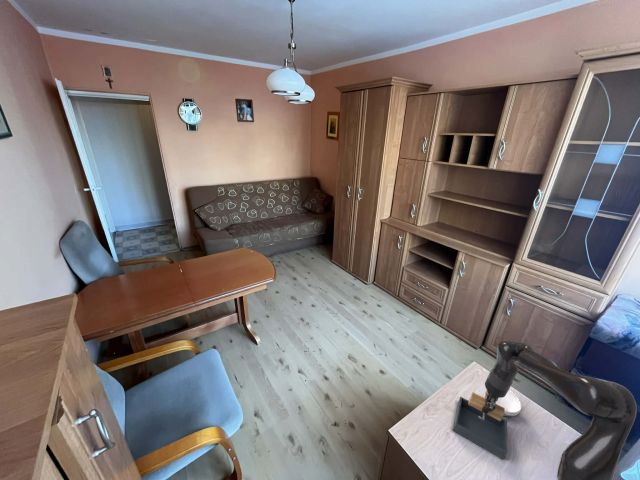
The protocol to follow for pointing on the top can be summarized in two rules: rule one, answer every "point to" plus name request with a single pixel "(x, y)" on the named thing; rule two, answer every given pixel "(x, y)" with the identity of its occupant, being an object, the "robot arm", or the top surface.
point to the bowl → (510, 404)
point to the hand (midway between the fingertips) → (484, 408)
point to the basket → (481, 428)
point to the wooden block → (479, 402)
